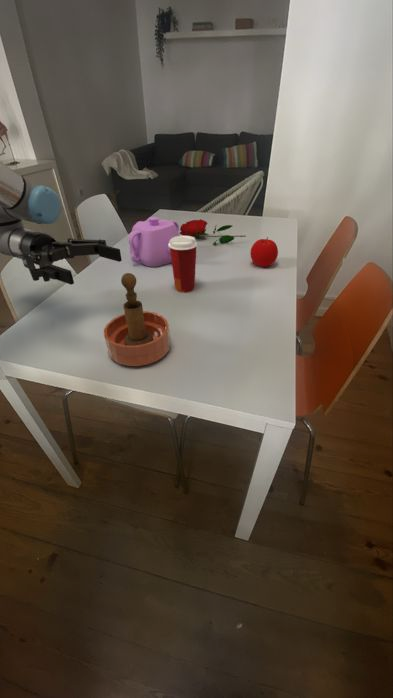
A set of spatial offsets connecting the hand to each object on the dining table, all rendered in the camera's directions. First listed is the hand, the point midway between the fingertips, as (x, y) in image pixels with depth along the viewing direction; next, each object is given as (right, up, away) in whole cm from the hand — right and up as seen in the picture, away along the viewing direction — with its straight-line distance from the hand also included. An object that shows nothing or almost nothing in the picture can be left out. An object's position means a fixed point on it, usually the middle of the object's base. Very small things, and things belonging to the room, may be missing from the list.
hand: (97, 265), depth 67 cm
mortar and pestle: (+8, -17, +7) cm, 20 cm away
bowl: (+8, -18, +8) cm, 21 cm away
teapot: (+8, +16, +50) cm, 53 cm away
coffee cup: (+17, +1, +32) cm, 36 cm away
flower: (+28, +26, +64) cm, 74 cm away
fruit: (+44, +12, +44) cm, 64 cm away
